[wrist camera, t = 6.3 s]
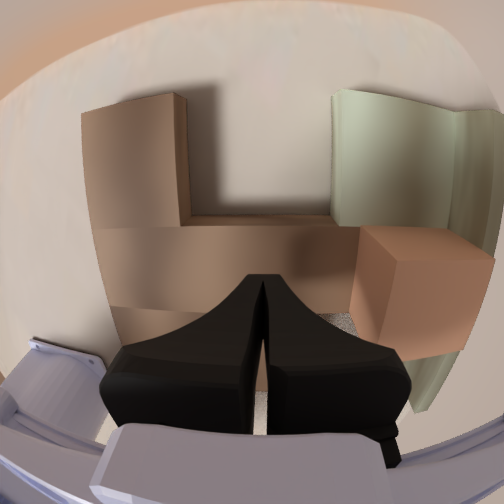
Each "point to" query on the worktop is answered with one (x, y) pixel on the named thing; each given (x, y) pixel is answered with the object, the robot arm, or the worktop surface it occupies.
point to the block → (417, 289)
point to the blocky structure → (281, 226)
